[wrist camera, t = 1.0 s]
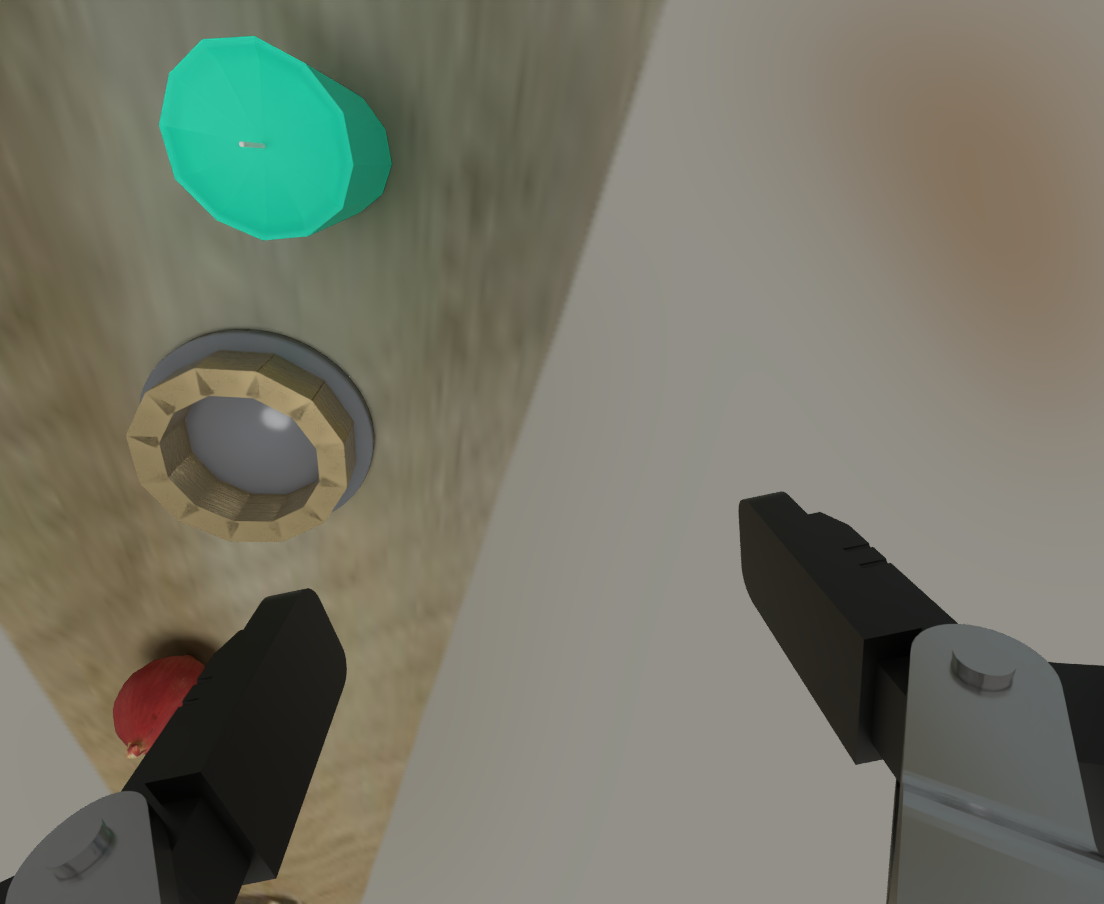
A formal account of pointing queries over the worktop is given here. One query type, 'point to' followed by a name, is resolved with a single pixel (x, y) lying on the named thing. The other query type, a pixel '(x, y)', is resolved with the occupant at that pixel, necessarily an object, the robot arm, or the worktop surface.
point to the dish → (264, 419)
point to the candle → (270, 140)
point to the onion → (152, 700)
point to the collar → (215, 502)
